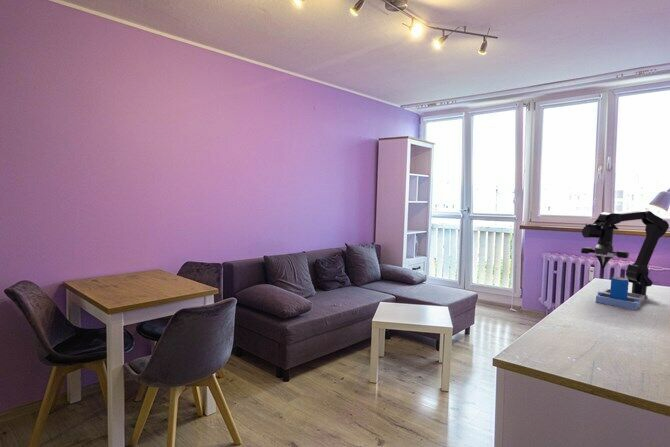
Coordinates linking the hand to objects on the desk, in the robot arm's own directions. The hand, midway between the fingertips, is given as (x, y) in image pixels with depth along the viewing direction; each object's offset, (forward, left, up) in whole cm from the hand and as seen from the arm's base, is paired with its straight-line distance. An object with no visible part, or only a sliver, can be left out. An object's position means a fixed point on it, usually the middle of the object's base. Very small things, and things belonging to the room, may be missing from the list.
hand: (602, 269), depth 191 cm
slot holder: (+6, +9, -13) cm, 17 cm away
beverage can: (+11, +9, -13) cm, 20 cm away
